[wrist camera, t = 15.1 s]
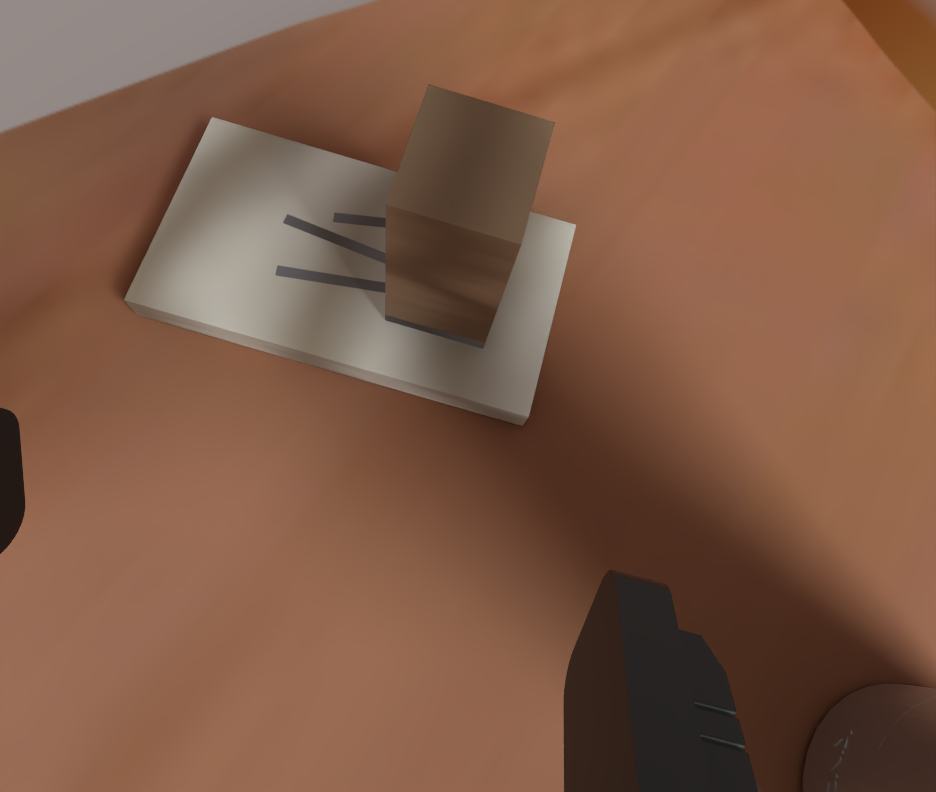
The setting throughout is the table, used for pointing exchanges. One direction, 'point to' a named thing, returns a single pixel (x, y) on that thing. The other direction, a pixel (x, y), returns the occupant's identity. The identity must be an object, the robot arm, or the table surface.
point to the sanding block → (460, 213)
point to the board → (332, 274)
